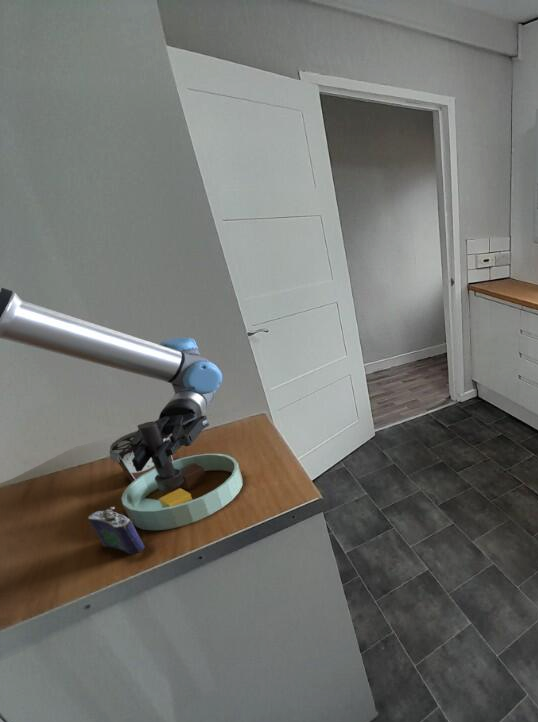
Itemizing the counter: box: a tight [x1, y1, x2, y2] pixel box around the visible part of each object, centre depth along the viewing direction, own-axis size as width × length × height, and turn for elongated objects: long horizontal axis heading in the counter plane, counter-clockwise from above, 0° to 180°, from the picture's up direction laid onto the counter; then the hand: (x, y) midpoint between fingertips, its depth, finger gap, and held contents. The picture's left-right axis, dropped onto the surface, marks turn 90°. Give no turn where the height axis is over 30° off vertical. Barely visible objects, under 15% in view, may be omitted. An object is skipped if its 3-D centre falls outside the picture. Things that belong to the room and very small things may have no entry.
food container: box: [109, 430, 174, 483], centre depth 98 cm, size 12×6×10 cm, turn 172°
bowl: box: [120, 453, 244, 531], centre depth 91 cm, size 20×20×6 cm
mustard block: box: [158, 487, 193, 508], centre depth 87 cm, size 4×4×4 cm
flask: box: [87, 506, 145, 555], centre depth 75 cm, size 9×3×11 cm, turn 73°
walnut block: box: [180, 463, 209, 491], centre depth 95 cm, size 4×4×4 cm
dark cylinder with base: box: [139, 420, 184, 491], centre depth 86 cm, size 4×4×15 cm
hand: (147, 463), depth 81 cm, fingers closed on dark cylinder with base, 3 cm apart
